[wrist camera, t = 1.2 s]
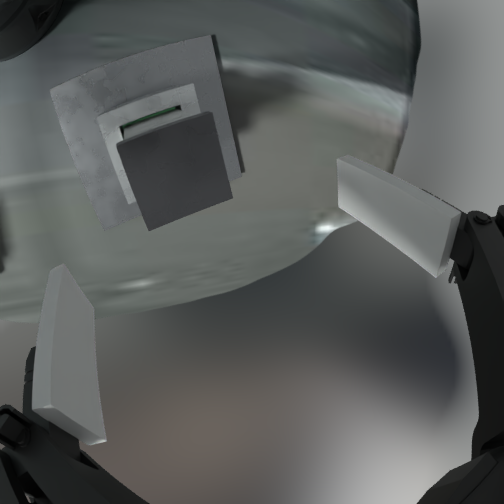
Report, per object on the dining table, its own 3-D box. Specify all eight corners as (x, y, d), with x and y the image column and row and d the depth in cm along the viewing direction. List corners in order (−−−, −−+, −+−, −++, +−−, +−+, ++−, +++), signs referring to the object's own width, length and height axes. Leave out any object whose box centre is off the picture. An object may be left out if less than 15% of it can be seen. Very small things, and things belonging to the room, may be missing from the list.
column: (120, 118, 32) (115, 146, 16) (166, 101, 33) (212, 112, 17) (134, 161, 36) (148, 231, 20) (178, 144, 37) (232, 198, 21)
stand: (51, 89, 27) (26, 90, 18) (208, 36, 32) (238, 20, 23) (104, 227, 40) (103, 268, 31) (239, 174, 45) (272, 200, 36)
